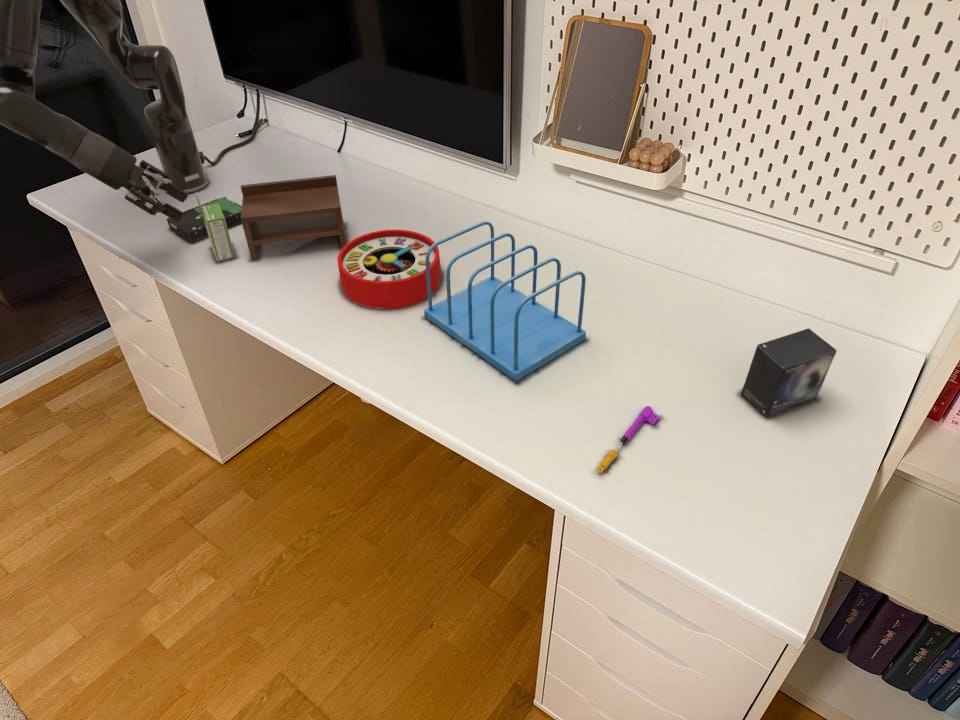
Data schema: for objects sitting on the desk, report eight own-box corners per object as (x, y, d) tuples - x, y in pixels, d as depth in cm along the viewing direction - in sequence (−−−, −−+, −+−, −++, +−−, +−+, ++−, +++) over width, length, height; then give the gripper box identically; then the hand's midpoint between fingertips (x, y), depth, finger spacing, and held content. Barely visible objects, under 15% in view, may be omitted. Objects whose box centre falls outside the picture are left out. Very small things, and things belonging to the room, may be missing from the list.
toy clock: (316, 257, 136) (392, 219, 147) (321, 282, 139) (395, 243, 151) (383, 296, 125) (460, 252, 136) (386, 321, 129) (461, 277, 140)
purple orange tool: (645, 407, 110) (594, 471, 100) (647, 403, 109) (597, 466, 99) (659, 417, 109) (610, 482, 99) (662, 413, 108) (612, 478, 99)
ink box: (236, 258, 147) (220, 201, 138) (217, 263, 146) (199, 205, 137) (230, 243, 152) (214, 187, 143) (211, 247, 151) (194, 191, 142)
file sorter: (586, 340, 124) (593, 267, 114) (515, 384, 115) (517, 309, 105) (492, 282, 138) (492, 213, 128) (423, 317, 130) (417, 246, 120)
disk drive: (192, 245, 152) (250, 219, 160) (188, 233, 150) (247, 208, 158) (169, 229, 158) (226, 205, 166) (165, 218, 156) (223, 194, 164)
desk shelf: (253, 234, 155) (240, 185, 147) (343, 224, 158) (335, 174, 150) (251, 260, 146) (238, 209, 139) (346, 248, 149) (338, 197, 142)
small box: (766, 420, 108) (784, 369, 101) (738, 394, 112) (754, 343, 105) (818, 400, 111) (839, 350, 104) (789, 376, 115) (808, 326, 109)
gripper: (105, 160, 125) (189, 210, 134) (119, 131, 136) (197, 179, 145) (85, 191, 128) (169, 238, 137) (101, 159, 138) (178, 205, 147)
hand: (183, 207), depth 141 cm, fingers open, 8 cm apart
